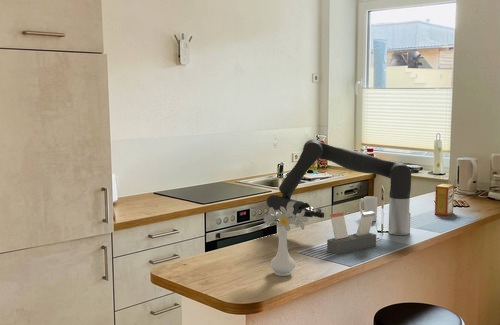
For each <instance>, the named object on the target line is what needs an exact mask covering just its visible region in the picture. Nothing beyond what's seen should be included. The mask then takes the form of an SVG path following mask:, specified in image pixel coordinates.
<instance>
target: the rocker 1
mask: <svg viewBox="0 0 500 325" xmlns="http://www.w3.org/2000/svg"><path fill="white" fill-rule="evenodd" d="M329 216H330V221H331V225H332V230H333V235H334V238H335V239H341V238H346V237H348V235H349V234H348V230H347V225H346V220H345V214H344V212H338V213H337V212H336V213H330V214H329Z"/></svg>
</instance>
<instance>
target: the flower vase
mask: <svg viewBox="0 0 500 325" xmlns="http://www.w3.org/2000/svg"><path fill="white" fill-rule="evenodd" d="M280 210H281V212H280ZM280 210H274V209H273V208H272V207H271V208H269V209H268V212H267V214H264V215H263V216H262V217H263V222H264V223H263V224H262V225H261V228H263V227H264V226H267V227H269V226H271V224H273V223H275V224H276V227H277V231H278V245H277V246H278V247H277V252H276V254H275V256H274V257H273V258H272V259H271V261H270V264H269V265H270V268H271V270H272V271H273V273H274V274H275V276H278V277H287V276H290V275H291V274H292V271H294V270H295V268H296V262H295V260H294V259H293V257H291V255H290V253H289V250H288V238H287V236H288V232H290V231H291V226H290V225H292V224H293V225H295V227H296V228H297V227H299V228H300V229H301V230H305V224H304V223H306V222H308V221H309V217H302V216H304V213H305V210H302V212H301V213H300V214H298V213H297V214H296V215H293V214H292V212H293V211H294V208H292V207H291V208H289V209H288V210H287V211H286V209H285V208H284V207H282V206H281V207H280Z"/></svg>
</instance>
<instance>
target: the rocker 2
mask: <svg viewBox="0 0 500 325" xmlns="http://www.w3.org/2000/svg"><path fill="white" fill-rule="evenodd" d="M374 214H375V213H374V212H373V211H369V212H363V213H362V214H361V215H360V220H359V223H358V227H357V230H356V233H355V234H357V235H359V236H360V235H365V234H369V233H370V231H371V227H372V224H373V222H374V221H373V217H374ZM372 221H373V222H372Z"/></svg>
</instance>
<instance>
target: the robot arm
mask: <svg viewBox="0 0 500 325" xmlns="http://www.w3.org/2000/svg"><path fill="white" fill-rule="evenodd" d="M318 160H325V161H328V162H331V163H334V164H336V165H337V166H340V167H342V168H344V169H347V170H350V171H353V172H359V173H363V174H374V175H379V176H381V177H382V176H383V177H385V178H388V179H390V188H389V194H388V195H389V200H388V201H389V204H388V205H389V207H388V234H390V235H394V236H406V235H407V236H408V235H409V234H410V233H411V212H410V200H411V199H410V198H411V197H410V195H411V191H412V190H411V189H412V171H411V169H410V167H409V166H408V165H407V164H405V163H403V162H399V161H398V162H397V161H391V160H385V159H381V158H378V157H376V156H373V155H370V154H368V153H365V152H364V153H363V152H361V151H356V150H353V149H349V148H348V149H347V148H344V147H339V146H338V147H337V146H333V145H331V144H328V143H325V142H322V141H320V140H317V139H309V140H307V141H306V142H305V143H304V145H303V147H302V151H301V154H300V156H299V158H298V160H297V162H296V163H295V165H294V166H293V167H292V169H291V170H290V171H289V172H288V173H287V175H286V176H285V178H284V179H283V181H282V182H281V184H280V185H279V188H278V190H279V192H280V193H281V194H282V195H281V196H280V195H278V194H274V193H273V194H271V195H269V196H268V197H267V198H266V206H267V207H268V208H269V209H270V208H271V207H272V208H273V209H274V211H277V210H280V207H281V206H282V207H284V208H285V209H286V211H287V210H288V209H289V208H291V207H292V208H294V211H293V212H292V214H293V215H296V214H297V213H298V214H300V213H301V212H302V210H305V213H304V216H302V217H308V218H313V217H314V218H320V219H324V218H325V212H323V211H322V207H320V206H319V207H318V208H315V207H313V206H310V204H309V203H308V202H306V201H302V200H298V199H292V198H291V197H292V195H293V193H294V192H295V190H296V189H297V187H298V186H299V184H300V183H301V181H302V179H303V178H304V177H305V174H306V173H307V172H308V171H309V169H310V168H312V165H314V164H315V162H317V161H318ZM280 213H282V212H281V210H280Z"/></svg>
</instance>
